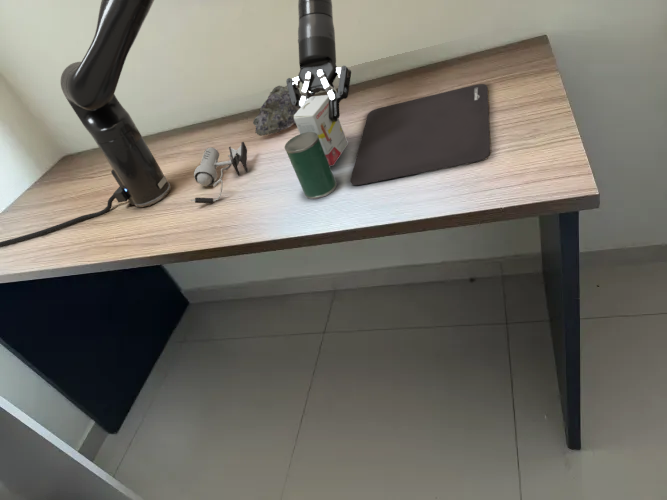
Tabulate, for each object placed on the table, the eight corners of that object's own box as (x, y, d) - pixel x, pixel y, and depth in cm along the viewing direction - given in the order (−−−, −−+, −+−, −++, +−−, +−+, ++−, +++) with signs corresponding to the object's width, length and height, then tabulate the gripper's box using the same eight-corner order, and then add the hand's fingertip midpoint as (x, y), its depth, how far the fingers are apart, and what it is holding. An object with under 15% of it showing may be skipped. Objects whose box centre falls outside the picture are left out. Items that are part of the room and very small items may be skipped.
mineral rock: (258, 142, 154) (241, 105, 149) (266, 122, 163) (250, 86, 157) (308, 129, 151) (292, 91, 145) (313, 108, 159) (299, 71, 153)
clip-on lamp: (240, 210, 137) (253, 152, 148) (229, 189, 132) (243, 131, 144) (190, 216, 140) (207, 158, 151) (177, 196, 135) (196, 138, 147)
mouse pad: (490, 159, 114) (490, 158, 114) (348, 187, 123) (348, 186, 123) (487, 82, 138) (487, 81, 138) (368, 111, 147) (368, 110, 147)
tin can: (300, 201, 126) (279, 153, 119) (310, 181, 130) (291, 135, 124) (331, 197, 123) (311, 148, 117) (340, 177, 128) (322, 129, 121)
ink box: (333, 166, 129) (312, 115, 122) (313, 168, 131) (291, 117, 125) (349, 143, 134) (330, 92, 128) (329, 145, 137) (309, 95, 130)
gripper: (356, 41, 131) (360, 122, 130) (294, 56, 137) (297, 133, 135) (341, 27, 124) (345, 112, 123) (277, 43, 130) (280, 124, 129)
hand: (320, 122), depth 129 cm, fingers closed on ink box, 5 cm apart
